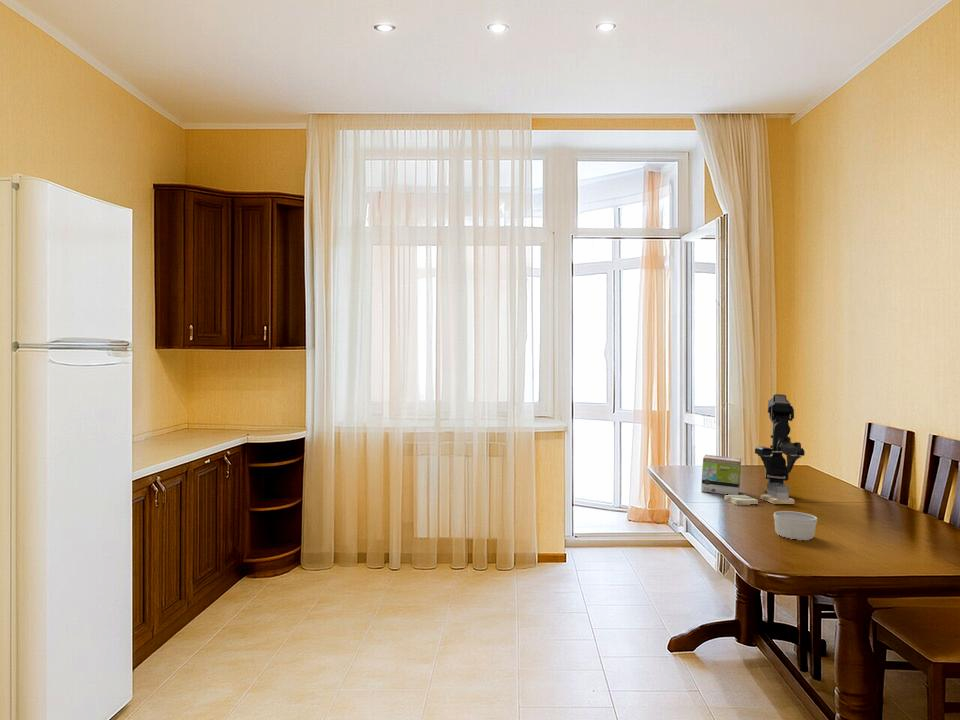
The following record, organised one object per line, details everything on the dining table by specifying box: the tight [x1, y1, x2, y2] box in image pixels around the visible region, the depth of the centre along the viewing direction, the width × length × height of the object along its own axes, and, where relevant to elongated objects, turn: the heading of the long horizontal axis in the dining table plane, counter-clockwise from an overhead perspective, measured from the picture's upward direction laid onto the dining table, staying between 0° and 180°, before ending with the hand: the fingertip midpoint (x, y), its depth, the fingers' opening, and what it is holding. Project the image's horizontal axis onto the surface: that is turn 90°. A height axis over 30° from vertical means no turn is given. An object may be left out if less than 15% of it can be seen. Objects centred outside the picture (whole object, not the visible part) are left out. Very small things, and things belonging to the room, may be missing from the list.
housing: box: [766, 482, 790, 499], centre depth 287 cm, size 7×5×5 cm
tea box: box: [700, 454, 742, 495], centre depth 303 cm, size 15×10×15 cm
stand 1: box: [724, 494, 759, 506], centre depth 284 cm, size 9×9×2 cm
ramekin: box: [773, 510, 818, 541], centre depth 236 cm, size 13×13×7 cm
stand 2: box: [760, 494, 795, 505], centre depth 287 cm, size 9×9×2 cm
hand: (778, 472), depth 287 cm, fingers open, 9 cm apart
